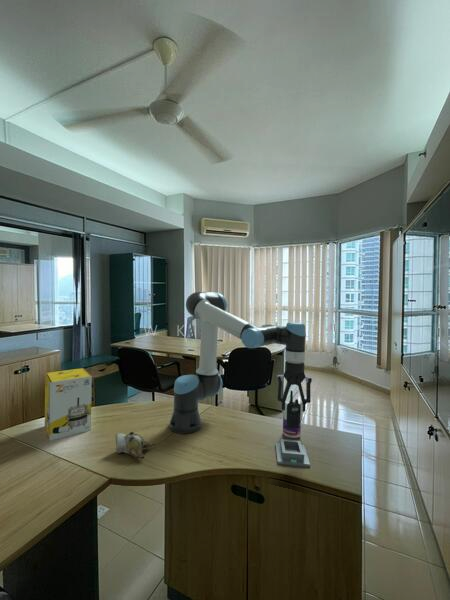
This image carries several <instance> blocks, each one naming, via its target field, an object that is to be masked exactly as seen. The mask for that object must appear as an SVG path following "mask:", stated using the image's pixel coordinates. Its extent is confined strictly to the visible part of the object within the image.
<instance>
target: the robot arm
mask: <svg viewBox="0 0 450 600" xmlns="http://www.w3.org/2000/svg"><path fill="white" fill-rule="evenodd" d="M185 307H186V310H187V313H188V314H189V315H191V316H192V317H194V318H196V319H198V320H200V322H201V326H200V327H201V328H200V342H199V344H200V345H199V347H200V350H199V364H198V365H199V367H198V368H197V369H196V370H195V374H187V375H186V374H185V375H181V376H179V377H177V378H176V379H175V381H174V387H173V410H172V415H171V417H170V420H169V430H171V432H172V431H173V433H177V434H184V435H185V434H191V433H194V432H195V433H196V432H198V431H199V430H200V429H201V428H202V419H201V414H200V412H199V402H200V401H203V400H206V399H208V398H212V397H215V396H216V395H218V394H219V393H220V392H221V391H222V389H223V379H222V377H221V374H220V372H219V369H217V353H218V351H217V350H218V339H219V338H218V336H219V335H218V334H219V329H221V331H222V330H223V331H225V332H226V333H228V334H230V335H232V336H233V337H236V338H237V339H239V340H241V343H242V344H243V346H245V348H247V349H256V348H260V347H264V346H268V345H269V346H270V345H273V344H275V345H284V346H285V355H284V357H285V358H284V359H285V361H284V372H283V374H277V382H278V383H277V396H276V397H277V401H278V402H281V410H282V411H283V410H284V419H285V420H287V402H288V401H287V398H288V395H289V391H290V388H291V386H292V385H295V386H297V388H298V391H299V395H300V399H301V401H299V404H300V421H301V422H303V412H304V413H305V412H306V406H307V404H311V397H312V396H311V384H312V381H313V378H312V377H311V376H307V375H306V374H305V360H306V359H305V358H306V357H305V355H306V336H307V333H306V325H305V323H304V322H296V321H291V322H290V321H287V323H286V326H283V325H282V326H281V325H275V324H274V325H273V324H262V325H261V326H257V325H254V324H252V323H250V322H249V321H246V320H244V319H243V318H240V317H239V316H237V315H234V314H232V313H230V312H228V311H227V309H228V308H227V307H228V303H227V299H226V298H225V297H224V295H223V294H222V293H219V292H215V291H195V292H193V293H191V294H190V295H189V296H188V297H187V299H186V300H185ZM284 379H285V380H286V385H285V387H284V391H283V394H282V385H283V384H282V383H283V381H284ZM304 380H305V383H306V384H305V385H306V386H305V387H306V388H305V392H306V393H305V394H306V397H305V394H304V390H303V385H302V383H303V381H304Z"/></svg>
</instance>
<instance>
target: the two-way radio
mask: <svg viewBox="0 0 450 600" xmlns="http://www.w3.org/2000/svg"><path fill="white" fill-rule="evenodd" d="M293 393H294V392H293V390H290V395H289V396H290V397H289V401H288V402H289V403H288V404H287V427H288V428H290V429H294V428H299V426H300V402H299V400H298V399H297V398H295V401H293V399H294V397H293V396H294V395H293Z"/></svg>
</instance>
